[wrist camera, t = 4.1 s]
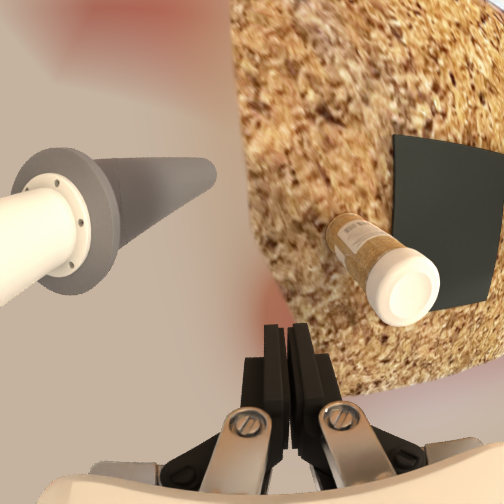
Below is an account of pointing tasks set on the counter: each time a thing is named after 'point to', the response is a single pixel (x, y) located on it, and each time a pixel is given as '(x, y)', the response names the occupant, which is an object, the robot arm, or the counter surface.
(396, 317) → the sprinkles bottle
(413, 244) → the mat
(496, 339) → the counter surface
